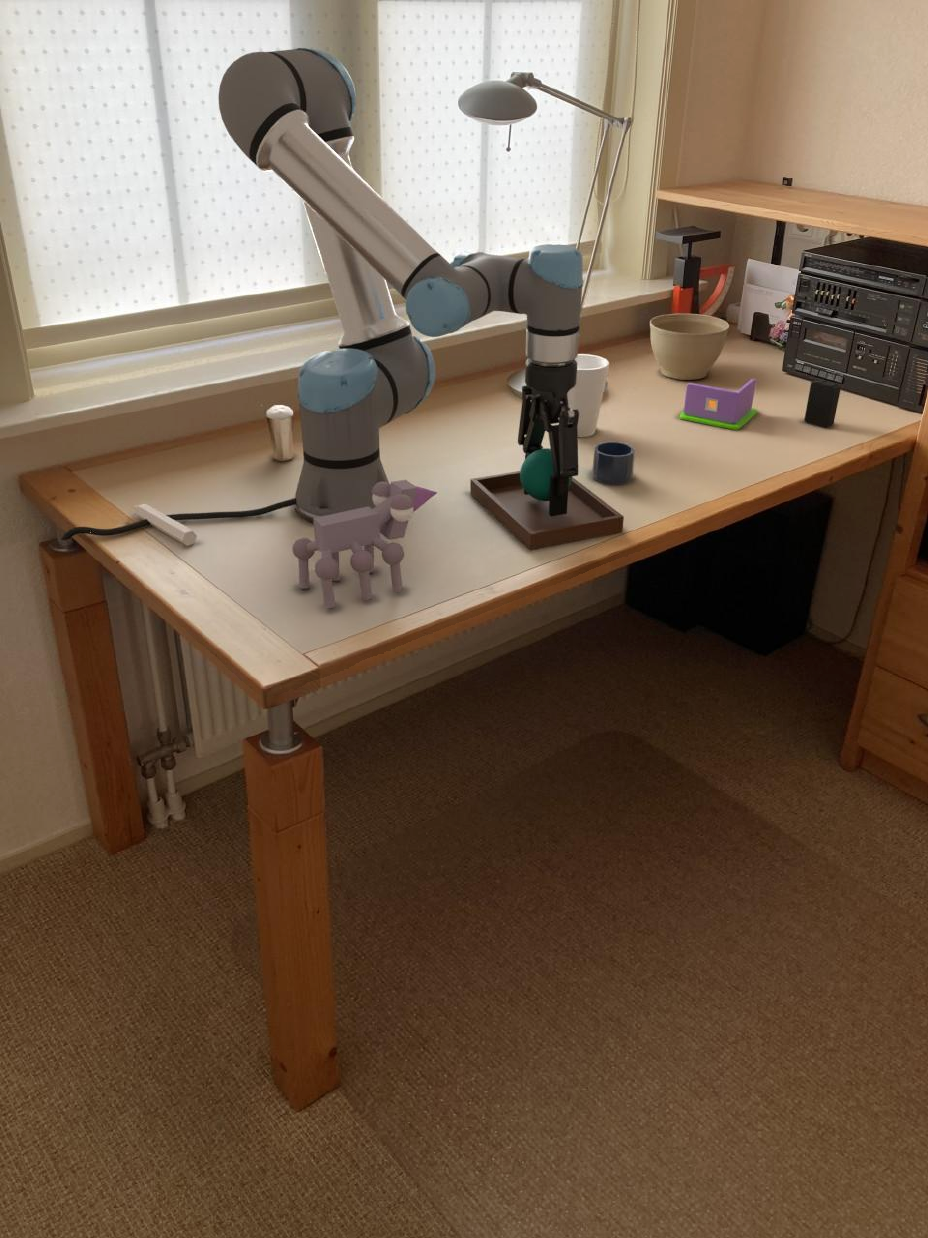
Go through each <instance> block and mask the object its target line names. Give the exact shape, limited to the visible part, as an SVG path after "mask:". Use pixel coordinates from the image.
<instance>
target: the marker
mask: <svg viewBox="0 0 928 1238" xmlns="http://www.w3.org/2000/svg"><path fill="white" fill-rule="evenodd" d="M132 507H133V508H134V510H135V513H134V514H135V515H136V516H137V517H138V518H139V520H145V519H147V520H148V521H149V522H150V523H151V525H150V526H152V527H153V528H155V529H157V530H159V531H161V532H162V533H164V534H165V535H167V536H169V537H171V538H173V539H174V540H176V541H178V542H179V543H181V544H182V545H184V546H186V547H189V546H192V545H194V544H195V543H196V540H197V537H198V535H197V534H196V533H195V532H194V530H192V529H191V528H189V527H187V526H185V525H184V524H182V523H181V522H178V520H176V521H175V520H173V519H171V518H170V517H168V516H166V515H167V514H164V513H163V512H161V511H159V510H158V509H156V508H155V507H152V506H150V505H149V504H147V503H145V502H144V503H141V504H139V505H133V506H132Z"/></svg>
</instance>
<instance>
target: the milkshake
mask: <svg viewBox="0 0 928 1238" xmlns="http://www.w3.org/2000/svg"><path fill="white" fill-rule="evenodd" d="M260 406H261V408H262V410H263V411H264V413H265V416H266V421H267V425H268V430H269V436H270V442H271V446H272V454H273V458H274V460H276V461H278V462H287V461H290V460H292V459H293V458H294V454H293V453H294V452H293V451H294V449H293V448H294V445H293V442H294V439H293V437H294V436H293V435H294V432H293V431H294V411H293V409H292V408H290V407H289V406H286V405H284V404H274V405H273V406H271V407H269V408H268V409H267V410H265V409H264V407H263V405H262V404H260Z"/></svg>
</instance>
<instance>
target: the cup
mask: <svg viewBox="0 0 928 1238" xmlns="http://www.w3.org/2000/svg"><path fill="white" fill-rule="evenodd" d="M635 455H636V450H635V447H634V446H632V445H631V444H629V443H625V442H623V441H622V442H621V441H603V442H600V443H597V444H595V446H594V447H593V459H592V460H593V461H592V478H593V479H594V480H595V481H597V482H598V483H600V484H604V485H613V486H614V485H615V486H619V485H625V484H628V483H630V482H631V481H632V480H633V476H634V466H635V458H636V457H635Z"/></svg>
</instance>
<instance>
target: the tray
mask: <svg viewBox="0 0 928 1238" xmlns="http://www.w3.org/2000/svg"><path fill="white" fill-rule="evenodd" d="M520 471H521V470H518V471H509V472H505V473H499V474H498V473H497V474H493V475H487V476H480V477H474V478H470V481H469V483H470V485H469V487H470V488H469V489H470V491H469V492H470V495H471V496H472V497H473V498H474V499H475V500H476V501H477V502H478V503H479V504H481V506H483V507H484V508H485V509H486V510H487V511H488V512H489V513H490V514H491V515H492V516H493V517H494V518H496V519H497V521H498V522H500V523H501V524H502V525H503V526H504V527H505V528H506V529H507V530H508V531H509V532H510V533H511V534H512V535H513V536H514V537H516V538H517V540H519V542H520V543H522V544H523V545H524V546H525V547H526V548H527V549H528V550H529V551H532V550H537V549H542V548H543V549H544V548H547V547H552V546H559V545H564V544H568V543H573V542H580V541H584V540H589V539H594V538H598V537H603V536H609V535H614V534H619V533H623V532H624V531H623V530H624V521H625V516H624V515H623V514H621V513H620V512H619V511H617V510H616V509H615V508H614V507H612V506H611V505H609V504H608V503H607V502H606V501H604V500H603V499H602V498H601V497H599V496H598V495H597V494H595V493H594V492H593V491H592V490H590V489H589V488H587V487H586V486H585V485H584V484H582V483H581V482H580V481H578V479H576V478H574V476H572V482H571V485H570V487H569V489H568V503H567V514H562V515H557V516H552V517H551V516H550V515H549V501H540V500H537V499H535V498H533V497H531V496H530V495H525V494H524V488H523V486H522V483H521V479H520Z"/></svg>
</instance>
